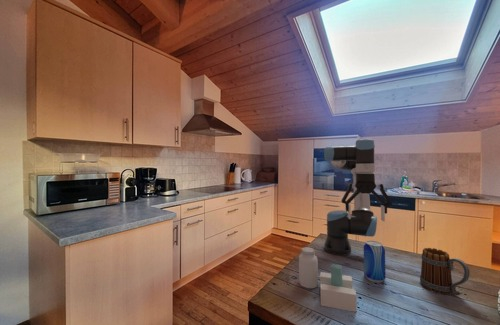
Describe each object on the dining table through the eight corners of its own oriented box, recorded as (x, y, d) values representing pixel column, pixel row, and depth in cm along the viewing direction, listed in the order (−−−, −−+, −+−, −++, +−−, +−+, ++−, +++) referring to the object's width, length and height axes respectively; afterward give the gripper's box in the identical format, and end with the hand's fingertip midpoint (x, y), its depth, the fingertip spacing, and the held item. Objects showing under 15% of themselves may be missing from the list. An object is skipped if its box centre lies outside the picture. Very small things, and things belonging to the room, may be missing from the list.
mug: (414, 283, 91) (413, 248, 91) (429, 278, 95) (428, 245, 95) (461, 305, 76) (460, 264, 76) (476, 298, 80) (475, 259, 80)
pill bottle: (303, 290, 87) (303, 253, 87) (296, 279, 95) (296, 246, 95) (321, 288, 88) (321, 252, 88) (312, 277, 96) (312, 245, 96)
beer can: (388, 284, 90) (388, 247, 90) (367, 282, 92) (367, 246, 92) (380, 274, 98) (380, 240, 98) (361, 272, 100) (360, 239, 100)
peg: (331, 293, 84) (330, 263, 84) (341, 295, 83) (341, 265, 83) (331, 300, 80) (331, 268, 80) (342, 302, 79) (342, 270, 79)
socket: (320, 285, 90) (320, 271, 90) (351, 291, 86) (351, 276, 86) (320, 305, 77) (320, 288, 77) (356, 312, 74) (356, 295, 74)
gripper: (336, 173, 96) (337, 219, 96) (400, 173, 88) (400, 223, 88) (335, 172, 103) (335, 215, 103) (394, 172, 95) (394, 219, 95)
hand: (365, 219), depth 95 cm, fingers open, 13 cm apart
